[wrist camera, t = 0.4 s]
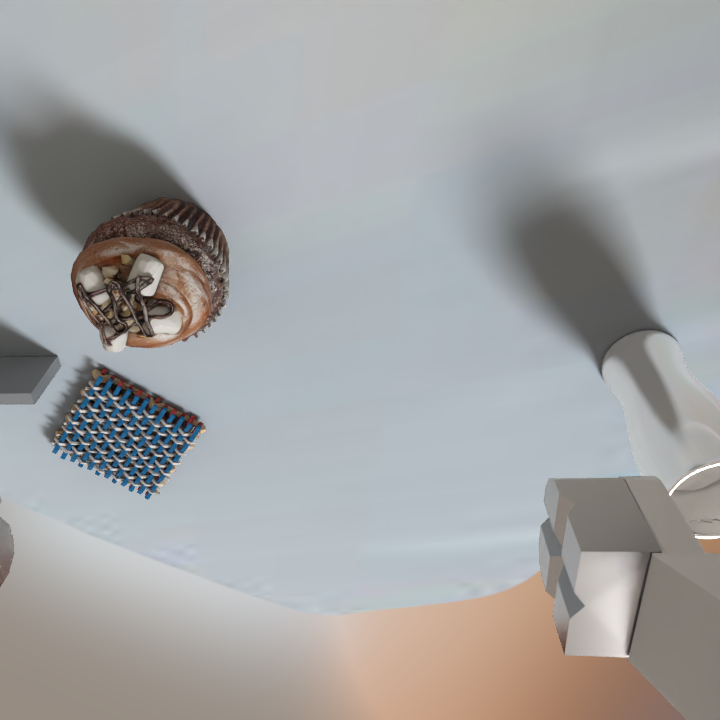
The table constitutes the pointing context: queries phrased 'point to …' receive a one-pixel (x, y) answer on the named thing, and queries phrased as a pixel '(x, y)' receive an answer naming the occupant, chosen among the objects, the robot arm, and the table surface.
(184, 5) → the table surface
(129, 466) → the woven mat
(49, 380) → the box
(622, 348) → the beer glass
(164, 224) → the cupcake
